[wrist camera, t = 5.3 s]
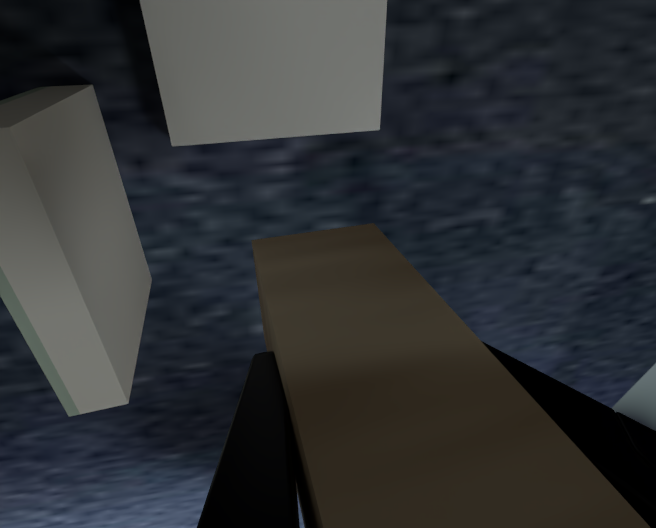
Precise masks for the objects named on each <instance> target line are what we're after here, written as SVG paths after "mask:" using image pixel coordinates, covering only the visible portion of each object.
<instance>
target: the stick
mask: <svg viewBox="0 0 656 528" xmlns="http://www.w3.org/2000/svg"><path fill="white" fill-rule="evenodd" d="M252 247H253V254H254V262H255V269H256V277H257V285H258V292H259V300H260V307H261V315H262V322H263V330H264V338H265V343H266V347H267V352H268V351H274V354H275V358H276V362H277V365H278V369H279V373H280V377H281V381H282V384H283V388H284V392H285V396H286V400H287V404H288V409H289V416H290V426H291V436H292V446H293V456H294V466H295V476H296V488H297V493H298V498H299V503H300V508H301V512H302V517H303V522H304V526H305V528H651V527H650V526H649V525H648V524H647V523H646V522H645V521H644V520H643V518H642V517H641V516H640V515H639V514H638V513H637V512H636V511H635V510H634V509H633V508H632V506H631V505H630V504H629V503H628V502H627V501H626V500H625V499H624V498H623V497H622V495H621V494H620V493H619V492H618V491H617V490H616V489H615V488H614V487H613V486H612V484H611V483H610V482H609V481H608V480H607V479H606V478H605V477H604V476H603V475H602V474H601V472H600V471H599V470H598V469H597V468H596V467H595V466H594V465H593V464H592V463H591V461H590V460H589V459H588V458H587V457H586V456H585V455H584V454H583V453H582V452H581V450H580V449H579V448H578V447H577V446H576V445H575V444H574V443H573V442H572V441H571V439H570V438H569V437H568V436H567V435H566V434H565V433H564V432H563V431H562V430H561V429H560V427H559V426H558V425H557V424H556V423H555V422H554V421H553V420H552V419H551V418H550V416H549V415H548V414H547V413H546V412H545V411H544V410H543V409H542V408H541V407H540V405H539V404H538V403H537V402H536V401H535V400H534V399H533V398H532V397H531V396H530V395H529V393H528V392H527V391H526V390H525V389H524V388H523V387H522V386H521V385H520V384H519V382H518V381H517V380H516V379H515V378H514V377H513V376H512V375H511V374H510V373H509V371H508V370H507V369H506V368H505V367H504V366H503V365H502V364H501V363H500V362H499V361H498V359H497V358H496V357H495V356H494V355H493V354H492V353H491V352H490V351H489V350H488V348H487V347H486V346H485V345H484V344H483V343H482V342H481V341H480V340H479V339H478V337H477V336H476V335H475V334H474V333H473V332H472V331H471V330H470V329H469V328H468V326H467V325H466V324H465V323H464V322H463V321H462V320H461V319H460V318H459V317H458V316H457V314H456V313H455V312H454V311H453V310H452V309H451V308H450V307H449V306H448V305H447V303H446V302H445V301H444V300H443V299H442V298H441V297H440V296H439V295H438V294H437V292H436V291H435V290H434V289H433V288H432V287H431V286H430V285H429V284H428V283H427V282H426V280H425V279H424V278H423V277H422V276H421V275H420V274H419V273H418V272H417V271H416V269H415V268H414V267H413V266H412V265H411V264H410V263H409V262H408V261H407V260H406V258H405V257H404V256H403V255H402V254H401V253H400V252H399V251H398V250H397V249H396V248H395V246H394V245H393V244H392V243H391V242H390V241H389V240H388V239H387V238H386V237H385V235H384V234H383V233H382V232H381V231H380V230H379V229H378V228H377V227H376V226H375V224H374V223H373V224H365V225H358V226H351V227H344V228H337V229H330V230H322V231H315V232H308V233H301V234H294V235H287V236H279V237H272V238H265V239H258V240H252Z"/></svg>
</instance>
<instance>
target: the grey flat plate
mask: <svg viewBox="0 0 656 528" xmlns="http://www.w3.org/2000/svg"><path fill="white" fill-rule="evenodd" d="M140 5H141V9H142V14H143V18H144V23H145V27H146V32H147V36H148V41H149V45H150V50H151V54H152V59H153V63H154V68H155V72H156V77H157V81H158V86H159V90H160V95H161V99H162V104H163V108H164V113H165V117H166V122H167V126H168V131H169V135H170V140H171V144H172V146H183V145H196V144H209V143H221V142H234V141H246V140H259V139H271V138H284V137H296V136H309V135H322V134H334V133H347V132H359V131H372V130H380V115H381V97H382V80H383V62H384V45H385V27H386V9H387V0H140Z"/></svg>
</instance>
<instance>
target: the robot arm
mask: <svg viewBox="0 0 656 528" xmlns="http://www.w3.org/2000/svg"><path fill="white" fill-rule="evenodd" d="M481 342H482V341H481ZM482 343H483V344H484V345H485V346H486V347H487V348H488V350H489V351H490V352H491V353H492V354H493V355H494V356H495V357H496V358H497V359H498V361H499V362H500V363H501V364H502V365H503V366H504V367H505V368H506V369H507V370H508V371H509V373H510V374H511V375H512V376H513V377H514V378H515V379H516V380H517V381H518V382H519V384H520V385H521V386H522V387H523V388H524V389H525V390H526V391H527V392H528V393H529V395H530V396H531V397H532V398H533V399H534V400H535V401H536V402H537V403H538V404H539V405H540V407H541V408H542V409H543V410H544V411H545V412H546V413H547V414H548V415H549V416H550V418H551V419H552V420H553V421H554V422H555V423H556V424H557V425H558V426H559V427H560V429H561V430H562V431H563V432H564V433H565V434H566V435H567V436H568V437H569V438H570V439H571V441H572V442H573V443H574V444H575V445H576V446H577V447H578V448H579V449H580V450H581V452H582V453H583V454H584V455H585V456H586V457H587V458H588V459H589V460H590V461H591V463H592V464H593V465H594V466H595V467H596V468H597V469H598V470H599V471H600V472H601V474H602V475H603V476H604V477H605V478H606V479H607V480H608V481H609V482H610V483H611V484H612V486H613V487H614V488H615V489H616V490H617V491H618V492H619V493H620V494H621V495H622V497H623V498H624V499H625V500H626V501H627V502H628V503H629V504H630V505H631V506H632V508H633V509H634V510H635V511H636V512H637V513H638V514H639V515H640V516H641V517H642V518H643V520H644V521H645V522H646V523H647V524H648V525H649V526H650V527H651V528H656V431H655V430H652V429H650V428H649V427H647V426H645V425H643V424H640V423H639V422H637V421H635V420H633V419H631V418H629V417H627V416H625V415H623V414H621V413H619V412H616V413H615V412H614V410H613V409H611V408H609V407H608V406H606V405H604V404H602V403H600V402H598V401H596V400H594V399H592V398H590V397H588V396H586V395H584V394H582V393H580V392H579V391H577V390H575V389H573V388H571V387H569V386H567V385H565V384H563V383H561V382H559V381H557V380H555V379H553V378H551V377H550V376H548V375H546V374H544V373H542V372H540V371H538V370H536V369H534V368H532V367H530V366H528V365H526V364H524V363H523V362H521V361H519V360H517V359H515V358H513V357H511V356H509V355H507V354H505V353H503V352H501V351H499V350H497V349H495V348H494V347H492V346H490V345H488V344H486V343H484V342H482ZM197 528H300V527H299V514H298V501H297V488H296V476H295V466H294V456H293V446H292V436H291V426H290V416H289V409H288V404H287V400H286V396H285V392H284V388H283V384H282V381H281V377H280V373H279V369H278V365H277V362H276V358H275V354H274V351H268V352H263V353H258V354H255V355H254V356H253V358H252V361H251V364H250V367H249V370H248V373H247V376H246V380H245V383H244V386H243V389H242V392H241V395H240V398H239V401H238V404H237V407H236V410H235V413H234V416H233V419H232V422H231V425H230V428H229V431H228V434H227V437H226V441H225V444H224V447H223V450H222V453H221V456H220V459H219V462H218V465H217V468H216V471H215V474H214V477H213V480H212V483H211V486H210V489H209V492H208V495H207V498H206V502H205V505H204V508H203V511H202V514H201V517H200V520H199V523H198V526H197Z"/></svg>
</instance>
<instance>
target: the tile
mask: <svg viewBox="0 0 656 528" xmlns="http://www.w3.org/2000/svg"><path fill="white" fill-rule="evenodd" d="M151 281H152V279H151V276H150V272H149V269H148V266H147V262H146V259H145V256H144V253H143V249H142V246H141V243H140V239H139V236H138V233H137V230H136V226H135V223H134V220H133V216H132V213H131V210H130V206H129V203H128V200H127V197H126V193H125V190H124V187H123V183H122V180H121V177H120V174H119V170H118V167H117V164H116V160H115V157H114V154H113V151H112V147H111V144H110V141H109V137H108V134H107V131H106V128H105V124H104V121H103V118H102V114H101V111H100V108H99V105H98V101H97V98H96V95H95V91H94V88H93V85H73V86H50V87H38V88H35V89H32V90H29V91H26V92H24V93H21V94H18V95H15V96H12V97H10V98H7V99H4V100H1V101H0V296H1V298H2V300H3V302H4V303H5V305H6V307H7V309H8V310H9V312H10V314H11V316H12V317H13V319H14V321H15V323H16V324H17V326H18V328H19V330H20V331H21V333H22V335H23V337H24V338H25V340H26V342H27V344H28V346H29V347H30V349H31V351H32V353H33V354H34V356H35V358H36V360H37V361H38V363H39V365H40V367H41V368H42V370H43V372H44V374H45V375H46V377H47V379H48V381H49V382H50V384H51V386H52V388H53V390H54V391H55V393H56V395H57V397H58V398H59V400H60V402H61V404H62V405H63V407H64V409H65V411H66V412H67V414H68V416H69V417H70V416H75V415H79V414H84V413H88V412H93V411H97V410H102V409H107V408H111V407H116V406H120V405H125V404H128V403H129V398H130V392H131V387H132V382H133V377H134V371H135V366H136V361H137V355H138V350H139V345H140V339H141V334H142V329H143V324H144V318H145V313H146V308H147V302H148V297H149V292H150V287H151Z"/></svg>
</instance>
